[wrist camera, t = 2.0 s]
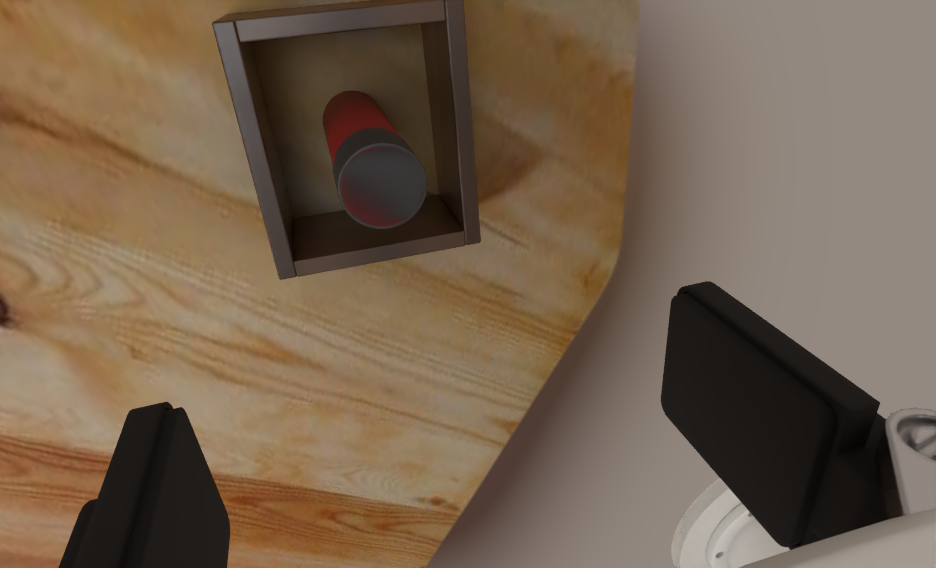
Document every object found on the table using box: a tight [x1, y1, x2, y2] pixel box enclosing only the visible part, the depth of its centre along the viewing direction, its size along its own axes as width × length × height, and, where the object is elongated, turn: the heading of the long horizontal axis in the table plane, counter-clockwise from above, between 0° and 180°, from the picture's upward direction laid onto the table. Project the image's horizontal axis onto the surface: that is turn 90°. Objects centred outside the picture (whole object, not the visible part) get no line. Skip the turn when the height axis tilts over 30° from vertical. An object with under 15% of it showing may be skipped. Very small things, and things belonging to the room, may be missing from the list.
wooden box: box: [212, 0, 481, 280], centre depth 27 cm, size 10×11×6 cm
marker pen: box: [323, 91, 427, 229], centre depth 25 cm, size 3×3×11 cm
